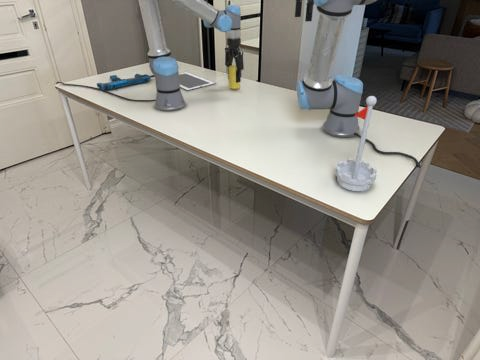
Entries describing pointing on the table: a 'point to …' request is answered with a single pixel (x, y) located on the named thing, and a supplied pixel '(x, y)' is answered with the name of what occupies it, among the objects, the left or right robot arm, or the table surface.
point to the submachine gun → (123, 81)
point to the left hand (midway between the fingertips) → (234, 80)
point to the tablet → (192, 81)
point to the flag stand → (358, 159)
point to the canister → (233, 77)
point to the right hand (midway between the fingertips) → (302, 19)
